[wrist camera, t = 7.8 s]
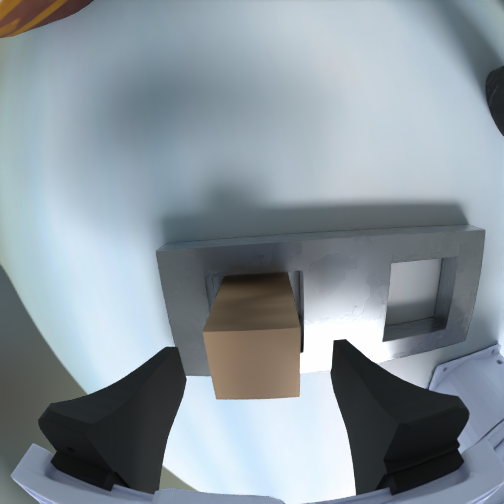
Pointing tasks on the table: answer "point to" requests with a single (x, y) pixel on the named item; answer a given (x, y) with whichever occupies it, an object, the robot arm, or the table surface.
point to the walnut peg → (254, 338)
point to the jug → (34, 13)
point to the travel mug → (496, 96)
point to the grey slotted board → (329, 288)
